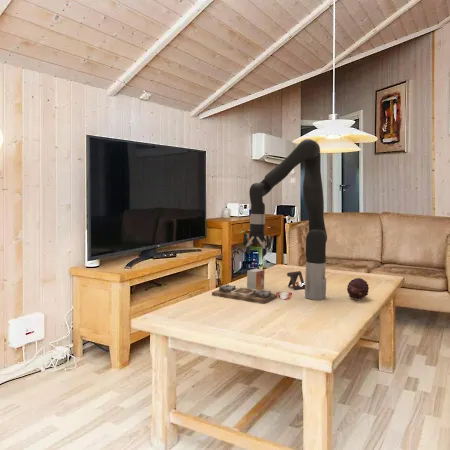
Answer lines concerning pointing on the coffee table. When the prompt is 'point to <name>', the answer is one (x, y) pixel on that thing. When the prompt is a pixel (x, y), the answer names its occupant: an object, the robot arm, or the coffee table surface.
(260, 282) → the small box
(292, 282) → the portable electronic device stand
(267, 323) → the coffee table surface
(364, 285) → the pine cone
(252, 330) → the coffee table surface
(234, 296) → the gear board
